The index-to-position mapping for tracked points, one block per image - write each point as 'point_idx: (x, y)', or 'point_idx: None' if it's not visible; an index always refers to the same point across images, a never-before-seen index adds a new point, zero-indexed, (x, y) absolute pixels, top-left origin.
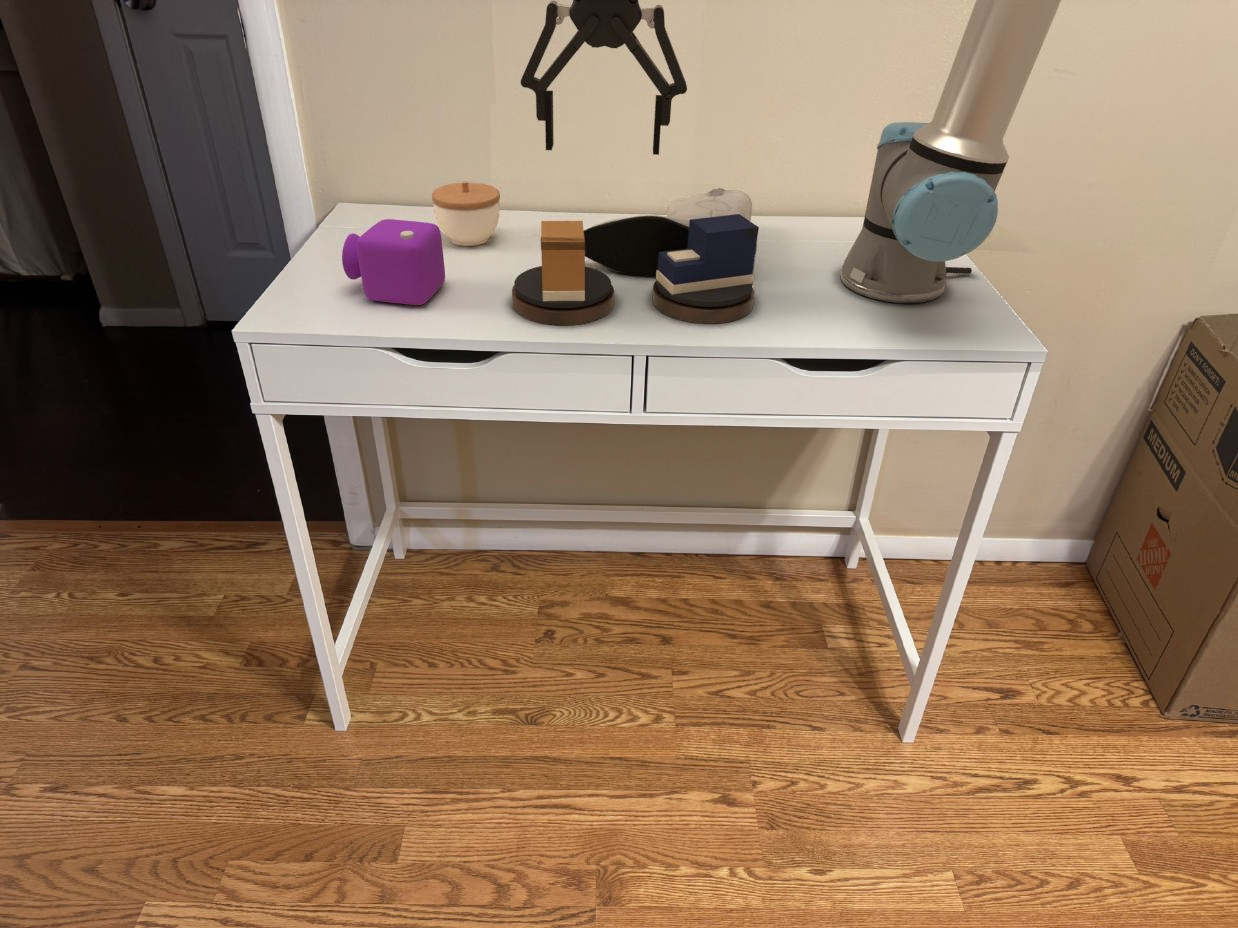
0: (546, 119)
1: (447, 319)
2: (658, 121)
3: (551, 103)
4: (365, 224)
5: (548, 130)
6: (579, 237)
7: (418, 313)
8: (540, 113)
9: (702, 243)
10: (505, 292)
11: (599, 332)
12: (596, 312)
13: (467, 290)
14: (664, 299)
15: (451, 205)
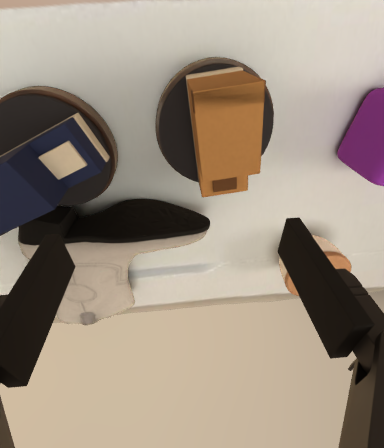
0: (330, 266)
1: (345, 60)
2: (13, 296)
3: (334, 310)
4: (378, 258)
5: (312, 247)
6: (202, 110)
7: (375, 74)
8: (349, 283)
9: (26, 163)
10: (274, 144)
11: (162, 40)
12: (170, 82)
13: (312, 144)
14: (91, 117)
15: (335, 254)
